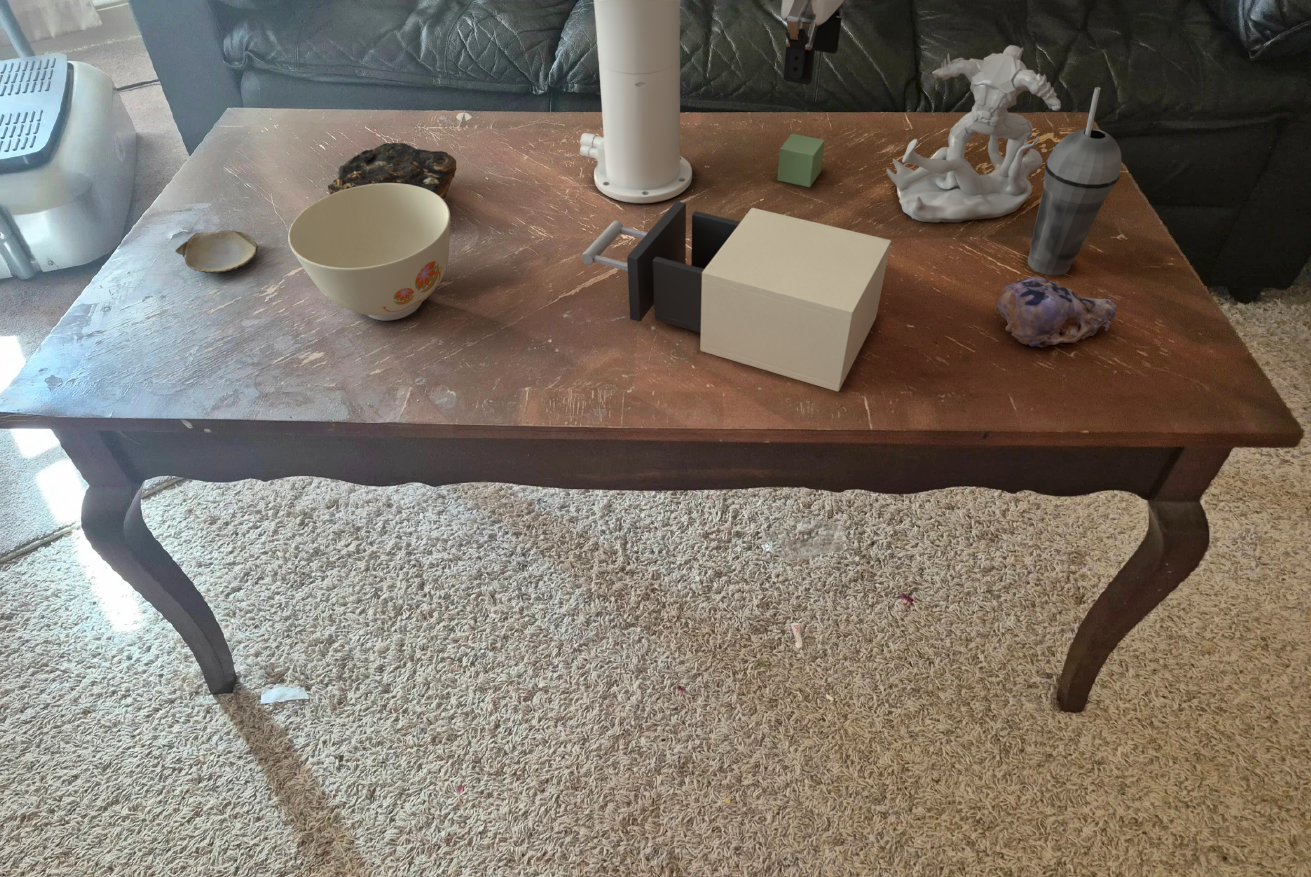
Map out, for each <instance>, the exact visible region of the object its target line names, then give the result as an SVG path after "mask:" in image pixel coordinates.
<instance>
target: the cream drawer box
mask: <svg viewBox="0 0 1311 877" xmlns="http://www.w3.org/2000/svg"><path fill="white" fill-rule="evenodd" d="M740 222H741V223H740V224H739V225H738V226H737V228H736V229H735V230H734V232H733V233H732V234H731V236H730V237H729V238H728V239H727V241H726V242H725V243H724V245H723V246H722V247H721V249H720V250H719V251H718V252H717V254H716V255H715V256H714V258H713V259H712V260H711V262H710V263H709V264H708V265H707V267H706V268H705V269H704V271H703V272H702V300H701V333H700V345H699V346H700V349H699V350H700V352H703V353H707V354H710V355H713V356H716V357H720V358H723V359H727V360H728V361H729V360H730V361H733V362H736V363H740V364H743V365H746V366H750V367H753V368H757V369H759V370H760V369H761V370H763V371H766V372H770V373H774V374H776V375H780V376H784V377H787V378H789V379H790V378H791V379H793V380H797V381H801V382H804V383H808V384H811V385H814V386H816V387H817V386H818V387H821V388H823V389H828V390H831V391H834V392H836V393H837V392H840V390H841V388H842V386H843V384H844V382H845V380H846V378H847V376H848V374H849V372H850V370H851V368H852V366H853V364H854V362H855V360H856V358H857V356H858V355H859V353H860V350H861V348H862V347H863V344H864V343H865V341H866V338H867V336H868V335H869V333H870V331H871V328H872V327H873V325H874V323H875V321H876V319H877V314H878V311H879V310H878V309H879V304H880V299H881V294H882V290H883V284H884V280H885V275H886V269H887V264H888V259H889V255H890V251H891V250H890V249H891V245H892V240H891V239H887V238H883V237H880V236H879V237H878V236H874V235H870V234H866V233H861V232H858V231H853V230H849V229H845V228H840V227H836V226H832V225H828V224H823V223H819V222H815V221H811V220H807V219H802V218H797V217H793V216H789V215H785V214H781V213H776V212H773V211H768V210H764V209H759V208H756V207H751V208H750V209H749V211H748V212H747V213H746V214H745V216H744V217H743V218H742V220H741V221H740Z"/></svg>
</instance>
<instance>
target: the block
mask: <svg viewBox="0 0 1311 877" xmlns="http://www.w3.org/2000/svg"><path fill="white" fill-rule="evenodd" d="M825 142H826V141H825V139H822V138H817V137H811V136H806V135H801V134H797V133H791V134H790V135H789V137H788V138H787V139H786V141H784V143H783V144H782V145H781V147H779V155H778V156H779V157H778V165H777V179H776V180H777V181H778V182H783V183H788V184H792V185H797V186H802V187H806V188H811V187H812V185H813V184H814V182H815V181H816V179H817V178H818V176H819V175H820V174H821V172H822V166H823V156H824V149H825Z"/></svg>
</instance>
